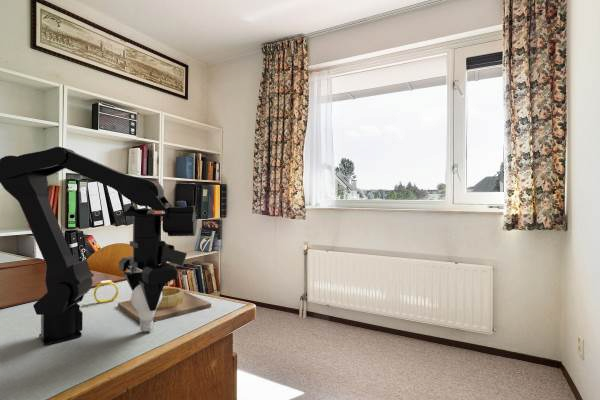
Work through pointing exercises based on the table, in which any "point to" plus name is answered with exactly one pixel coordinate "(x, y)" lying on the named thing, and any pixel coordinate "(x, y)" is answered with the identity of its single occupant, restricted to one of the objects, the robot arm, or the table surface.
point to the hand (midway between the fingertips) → (146, 306)
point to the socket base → (187, 306)
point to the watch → (105, 284)
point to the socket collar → (171, 297)
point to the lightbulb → (143, 309)
